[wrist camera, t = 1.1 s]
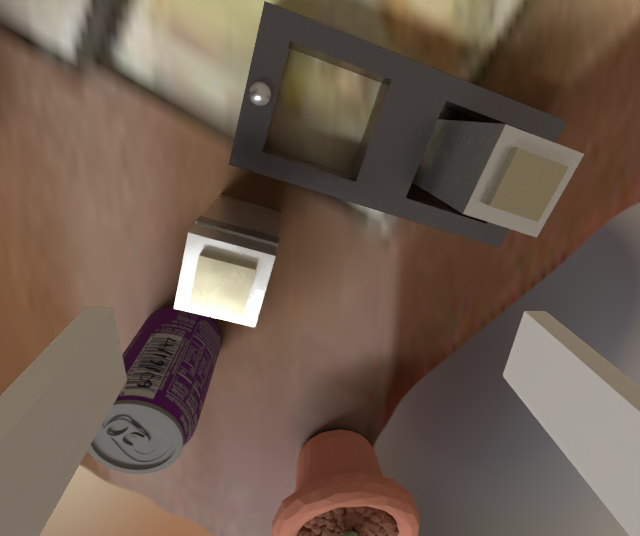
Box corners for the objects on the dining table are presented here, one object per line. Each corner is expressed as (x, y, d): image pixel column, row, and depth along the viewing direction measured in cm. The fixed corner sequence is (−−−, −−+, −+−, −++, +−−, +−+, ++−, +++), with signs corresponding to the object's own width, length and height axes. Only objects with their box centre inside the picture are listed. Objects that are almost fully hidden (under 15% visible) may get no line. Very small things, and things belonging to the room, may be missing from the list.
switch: (235, 159, 28) (205, 185, 19) (267, 13, 25) (251, -49, 15) (481, 235, 32) (562, 290, 23) (540, 119, 29) (666, 125, 19)
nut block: (207, 250, 31) (169, 314, 22) (220, 192, 29) (184, 234, 20) (265, 266, 32) (254, 334, 22) (281, 210, 30) (276, 258, 21)
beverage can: (128, 330, 34) (48, 436, 23) (184, 287, 32) (129, 378, 21) (183, 377, 36) (136, 493, 25) (238, 339, 35) (213, 445, 24)
